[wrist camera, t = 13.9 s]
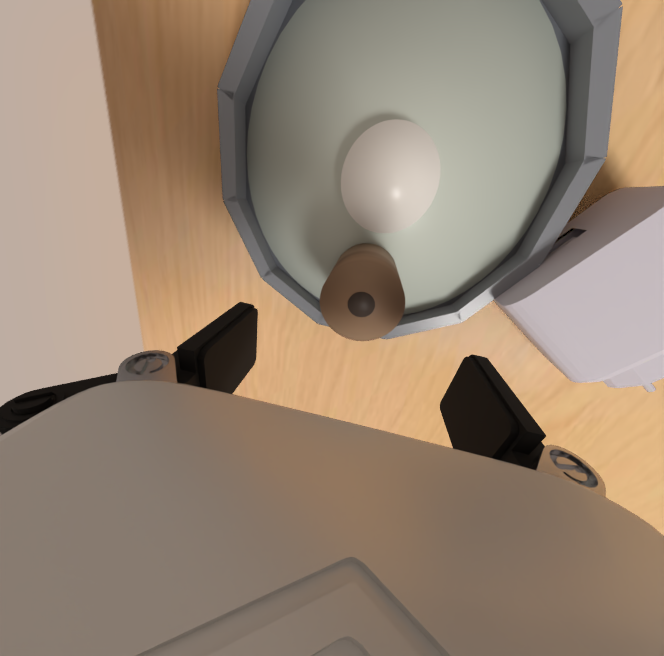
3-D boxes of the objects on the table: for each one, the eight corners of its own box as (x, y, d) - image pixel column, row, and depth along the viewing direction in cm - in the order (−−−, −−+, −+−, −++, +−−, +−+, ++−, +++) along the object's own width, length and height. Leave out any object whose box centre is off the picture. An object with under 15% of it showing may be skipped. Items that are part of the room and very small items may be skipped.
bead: (387, 310, 20) (391, 349, 15) (329, 297, 21) (314, 331, 16) (405, 250, 18) (418, 272, 13) (340, 237, 18) (326, 253, 13)
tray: (471, 345, 22) (482, 361, 20) (241, 293, 23) (228, 303, 21) (689, -46, 11) (766, -104, 9) (234, -108, 12) (203, -174, 10)
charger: (576, 391, 23) (479, 286, 20) (707, 333, 19) (611, 187, 16) (620, 434, 19) (507, 309, 16) (801, 371, 15) (697, 183, 11)
